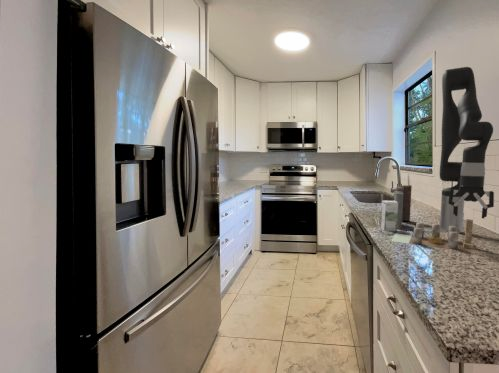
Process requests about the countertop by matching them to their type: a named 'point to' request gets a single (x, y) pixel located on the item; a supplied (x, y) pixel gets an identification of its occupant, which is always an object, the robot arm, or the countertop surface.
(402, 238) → the green pad
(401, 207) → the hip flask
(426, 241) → the board
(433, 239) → the gold star hexagon
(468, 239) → the light wood t-shaped block
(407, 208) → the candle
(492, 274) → the countertop surface
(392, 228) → the syrup box
